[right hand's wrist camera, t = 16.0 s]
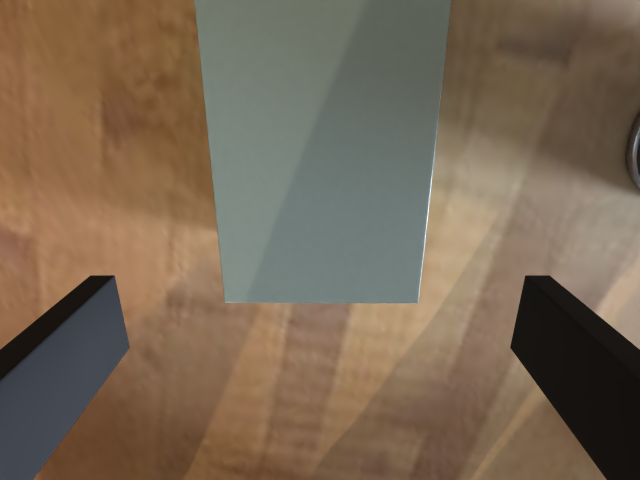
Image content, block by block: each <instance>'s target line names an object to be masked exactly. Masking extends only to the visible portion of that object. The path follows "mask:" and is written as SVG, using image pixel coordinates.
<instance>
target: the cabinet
mask: <svg viewBox="0 0 640 480" xmlns="http://www.w3.org/2000/svg"><path fill="white" fill-rule="evenodd" d="M194 2H195V12H196V22H197V32H198V42H199V52H200V62H201V72H202V82H203V92H204V102H205V112H206V122H207V132H208V142H209V151H210V161H211V171H212V181H213V191H214V201H215V211H216V221H217V231H218V241H219V251H220V261H221V271H222V281H223V291H224V301H225V303H418V300H419V291H420V282H421V273H422V264H423V255H424V246H425V236H426V227H427V218H428V209H429V200H430V191H431V182H432V173H433V164H434V155H435V146H436V137H437V128H438V118H439V109H440V100H441V91H442V82H443V73H444V64H445V55H446V46H447V37H448V28H449V19H450V10H451V0H194Z"/></svg>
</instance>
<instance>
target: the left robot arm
mask: <svg viewBox="0 0 640 480" xmlns="http://www.w3.org/2000/svg"><path fill="white" fill-rule="evenodd" d="M627 164H628V170H629V173H630V176H631V178H632V180H633V182H634V184H635V185H636V186H637V188H638V189H639V190H640V115H639V117H638V118H637V120H636V122H635V124H634V127H633V129H632V132H631V135H630V138H629V142H628V148H627Z"/></svg>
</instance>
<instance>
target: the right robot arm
mask: <svg viewBox="0 0 640 480" xmlns="http://www.w3.org/2000/svg"><path fill="white" fill-rule="evenodd" d="M129 348H130V347H129V342H128V337H127V333H126V328H125V323H124V318H123V314H122V309H121V304H120V299H119V294H118V290H117V285H116V280H115V276H89V277H88V278H87V279H86V280H85V281H83V282H82V283H81V284H80V285H79V286H77V287H76V288H75V289H74V290H72V291H71V292H70V293H69V294H68V295H66V296H65V297H64V298H63V299H62V300H60V301H59V302H58V303H57V304H55V305H54V306H53V307H52V308H51V309H49V310H48V311H47V312H46V313H44V314H43V315H42V316H41V317H40V318H38V319H37V320H36V321H35V322H34V323H32V324H31V325H30V326H29V327H27V328H26V329H25V330H24V331H23V332H21V333H20V334H19V335H18V336H16V337H15V338H14V339H13V340H12V341H10V342H9V343H8V344H7V345H6V346H4V347H3V348H2V349H1V350H0V480H33V479H34V478H35V476H36V475H37V474H38V472H39V471H40V470H41V468H42V467H43V465H44V464H45V463H46V461H47V460H48V459H49V457H50V456H51V454H52V453H53V452H54V450H55V449H56V448H57V446H58V445H59V444H60V442H61V441H62V439H63V438H64V437H65V435H66V434H67V433H68V431H69V430H70V428H71V427H72V426H73V424H74V423H75V422H76V420H77V419H78V418H79V416H80V415H81V413H82V412H83V411H84V409H85V408H86V407H87V405H88V404H89V402H90V401H91V400H92V398H93V397H94V396H95V394H96V393H97V392H98V390H99V389H100V387H101V386H102V385H103V383H104V382H105V381H106V379H107V378H108V376H109V375H110V374H111V372H112V371H113V370H114V368H115V367H116V366H117V364H118V363H119V361H120V360H121V359H122V357H123V356H124V355H125V353H126V352H127V350H128V349H129ZM510 348H511V349H512V350H513V352H514V353H515V355H516V356H517V357H518V359H519V360H520V361H521V363H522V364H523V366H524V367H525V368H526V370H527V371H528V372H529V374H530V375H531V376H532V378H533V379H534V381H535V382H536V383H537V385H538V386H539V387H540V389H541V390H542V392H543V393H544V394H545V396H546V397H547V398H548V400H549V401H550V402H551V404H552V405H553V407H554V408H555V409H556V411H557V412H558V413H559V415H560V416H561V418H562V419H563V420H564V422H565V423H566V424H567V426H568V427H569V428H570V430H571V431H572V433H573V434H574V435H575V437H576V438H577V439H578V441H579V442H580V444H581V445H582V446H583V448H584V449H585V450H586V452H587V453H588V454H589V456H590V457H591V459H592V460H593V461H594V463H595V464H596V465H597V467H598V468H599V470H600V471H601V472H602V474H603V475H604V476H605V478H606V479H607V480H640V350H639V349H638V348H637V347H636V346H634V345H633V344H632V343H631V342H630V341H628V340H627V339H626V338H625V337H624V336H622V335H621V334H620V333H619V332H617V331H616V330H615V329H614V328H613V327H611V326H610V325H609V324H608V323H606V322H605V321H604V320H603V319H602V318H600V317H599V316H598V315H597V314H596V313H594V312H593V311H592V310H591V309H589V308H588V307H587V306H586V305H585V304H583V303H582V302H581V301H580V300H578V299H577V298H576V297H575V296H574V295H572V294H571V293H570V292H569V291H568V290H566V289H565V288H564V287H563V286H561V285H560V284H559V283H558V282H557V281H555V280H554V279H553V278H552V277H551V276H525V280H524V285H523V290H522V294H521V299H520V304H519V309H518V314H517V318H516V323H515V328H514V333H513V337H512V342H511V347H510Z"/></svg>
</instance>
